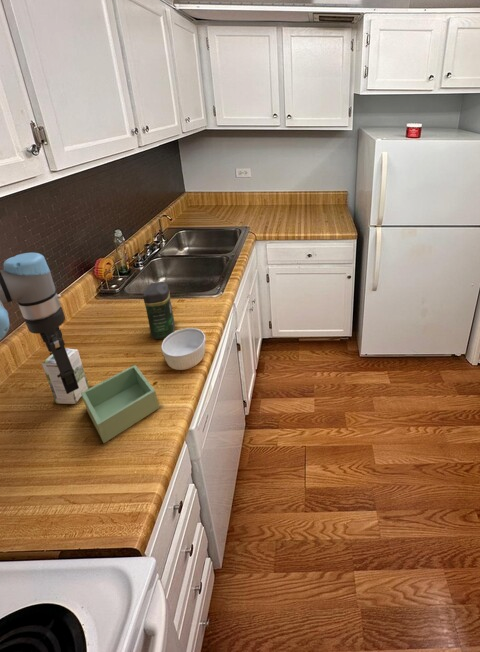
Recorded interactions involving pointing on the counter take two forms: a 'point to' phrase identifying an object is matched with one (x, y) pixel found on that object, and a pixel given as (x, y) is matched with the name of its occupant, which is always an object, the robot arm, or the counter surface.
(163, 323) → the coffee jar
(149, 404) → the bin
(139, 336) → the counter surface
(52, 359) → the syrup box
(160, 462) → the counter surface
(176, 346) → the ramekin
